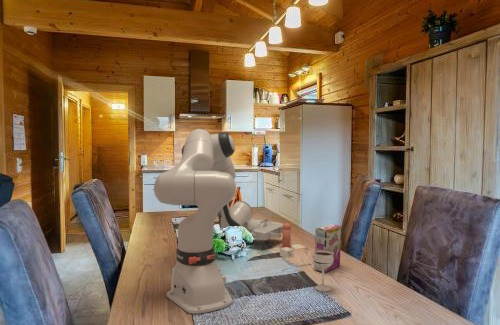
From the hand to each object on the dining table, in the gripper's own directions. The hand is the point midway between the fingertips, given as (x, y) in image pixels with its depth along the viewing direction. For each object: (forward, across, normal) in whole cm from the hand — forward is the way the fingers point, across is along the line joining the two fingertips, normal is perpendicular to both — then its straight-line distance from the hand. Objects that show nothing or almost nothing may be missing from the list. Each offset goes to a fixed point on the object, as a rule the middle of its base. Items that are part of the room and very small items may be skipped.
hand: (284, 233), depth 152 cm
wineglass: (+29, -30, +8) cm, 43 cm away
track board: (-2, -5, +8) cm, 10 cm away
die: (+6, -9, +8) cm, 13 cm away
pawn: (+1, 0, +7) cm, 7 cm away
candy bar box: (+24, -11, +8) cm, 28 cm away
